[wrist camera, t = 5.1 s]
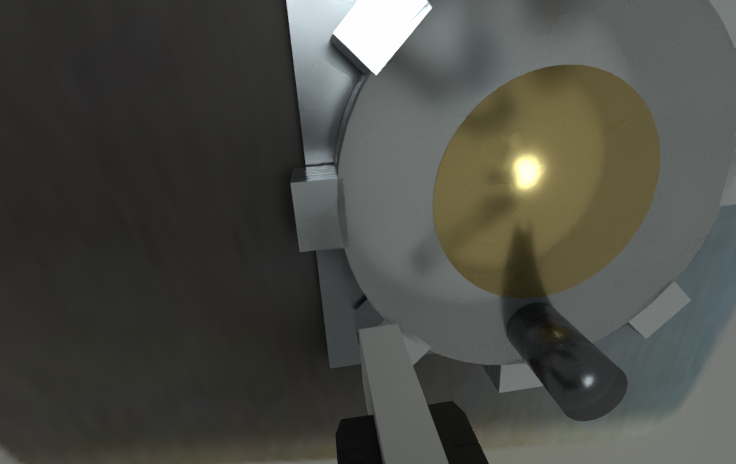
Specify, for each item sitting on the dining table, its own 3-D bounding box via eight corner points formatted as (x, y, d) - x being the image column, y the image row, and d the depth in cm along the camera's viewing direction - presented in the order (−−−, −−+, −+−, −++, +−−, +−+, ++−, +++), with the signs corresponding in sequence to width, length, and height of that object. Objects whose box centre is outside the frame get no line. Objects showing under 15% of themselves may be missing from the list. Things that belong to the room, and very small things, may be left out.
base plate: (329, 358, 20) (330, 372, 19) (280, -55, 14) (278, -66, 13) (643, 313, 22) (659, 325, 21) (733, -67, 16) (762, -77, 15)
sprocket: (321, 382, 19) (326, 512, 14) (260, -85, 12) (215, -234, 7) (665, 331, 22) (800, 425, 16) (778, -94, 15) (1099, -213, 9)
